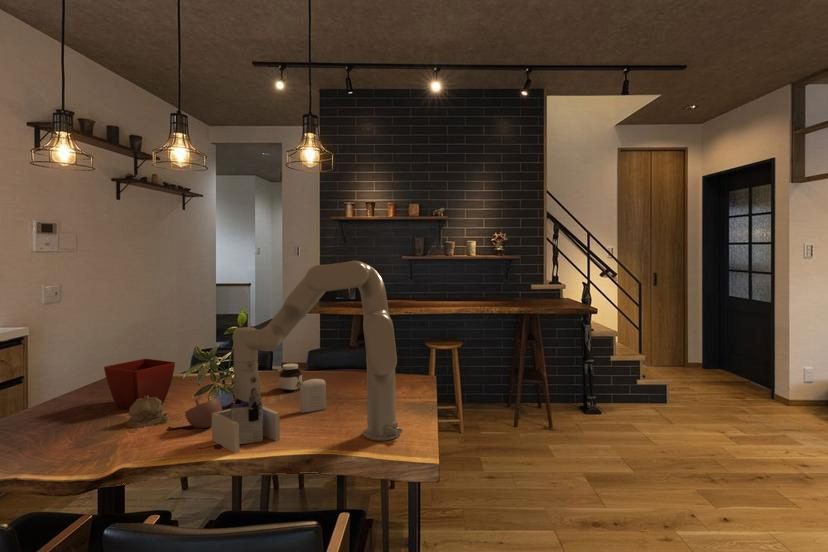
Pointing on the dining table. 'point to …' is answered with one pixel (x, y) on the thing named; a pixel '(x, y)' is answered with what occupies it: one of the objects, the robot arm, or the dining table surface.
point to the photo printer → (312, 395)
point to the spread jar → (290, 378)
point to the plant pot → (139, 380)
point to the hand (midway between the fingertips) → (246, 417)
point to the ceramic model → (147, 412)
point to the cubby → (228, 429)
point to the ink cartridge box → (247, 423)
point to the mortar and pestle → (203, 412)
